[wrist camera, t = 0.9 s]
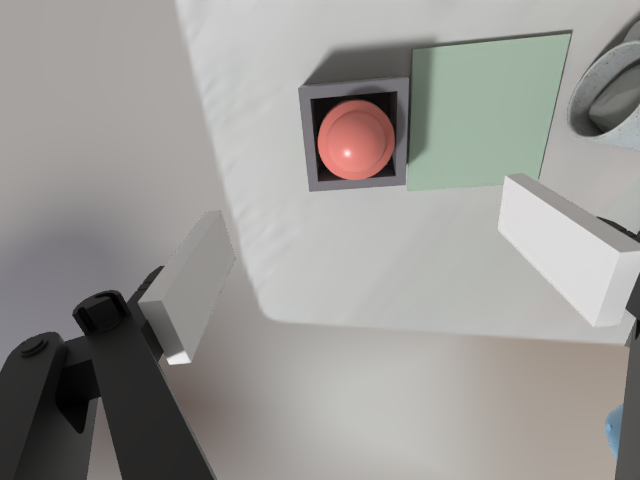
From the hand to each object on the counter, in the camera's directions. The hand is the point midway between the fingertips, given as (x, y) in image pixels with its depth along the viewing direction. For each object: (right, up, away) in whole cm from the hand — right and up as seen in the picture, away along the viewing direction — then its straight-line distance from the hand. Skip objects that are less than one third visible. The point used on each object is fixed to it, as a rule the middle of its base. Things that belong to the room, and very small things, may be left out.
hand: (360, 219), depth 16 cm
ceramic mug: (+25, +13, +14) cm, 32 cm away
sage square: (+13, +10, +16) cm, 23 cm away
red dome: (+1, +9, +15) cm, 17 cm away
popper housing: (+1, +10, +17) cm, 20 cm away
